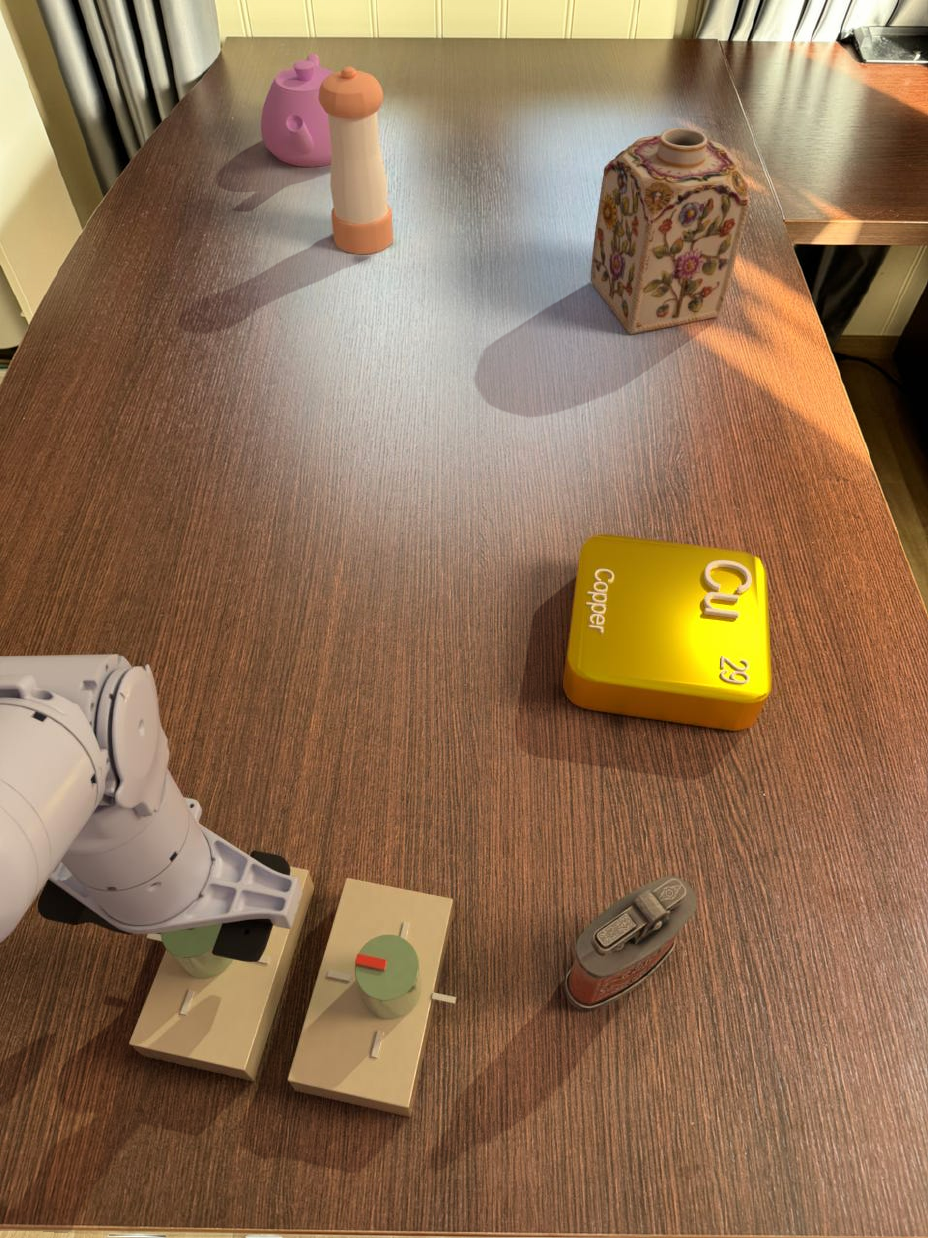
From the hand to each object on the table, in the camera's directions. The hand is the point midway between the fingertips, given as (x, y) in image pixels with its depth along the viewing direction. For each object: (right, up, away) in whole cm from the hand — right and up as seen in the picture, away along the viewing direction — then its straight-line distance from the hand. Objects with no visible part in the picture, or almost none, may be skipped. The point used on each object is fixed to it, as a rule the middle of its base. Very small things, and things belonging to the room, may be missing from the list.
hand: (196, 930), depth 52 cm
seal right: (+11, -4, +1) cm, 12 cm away
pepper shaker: (+3, +65, +58) cm, 87 cm away
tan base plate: (+1, -4, +5) cm, 6 cm away
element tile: (+32, +16, +21) cm, 41 cm away
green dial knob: (0, -2, +2) cm, 3 cm away
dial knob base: (+10, -5, +4) cm, 12 cm away
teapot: (-5, +83, +73) cm, 110 cm away
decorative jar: (+37, +55, +51) cm, 83 cm away
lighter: (+26, -4, +5) cm, 26 cm away
